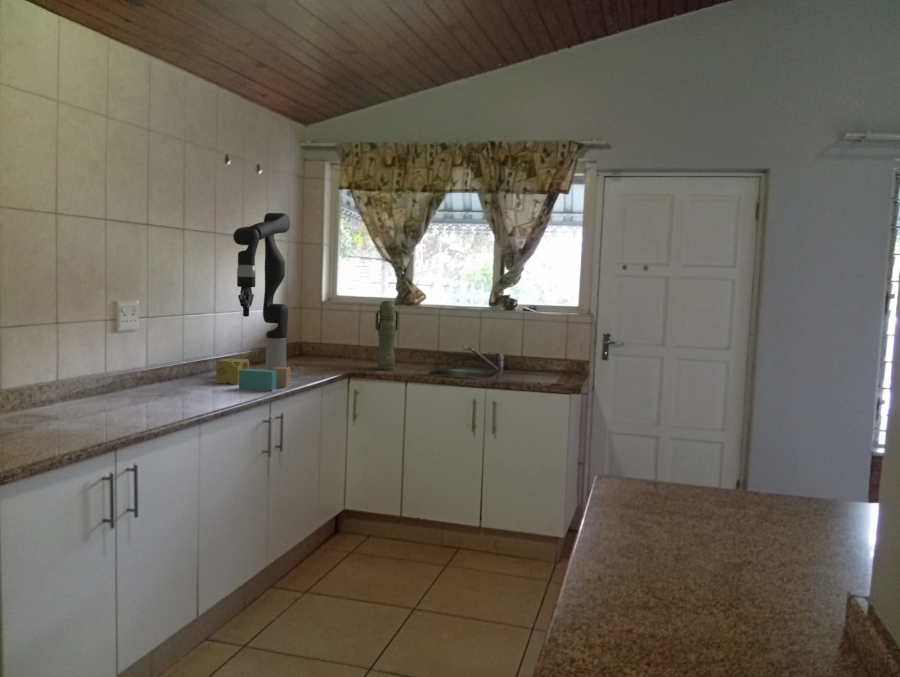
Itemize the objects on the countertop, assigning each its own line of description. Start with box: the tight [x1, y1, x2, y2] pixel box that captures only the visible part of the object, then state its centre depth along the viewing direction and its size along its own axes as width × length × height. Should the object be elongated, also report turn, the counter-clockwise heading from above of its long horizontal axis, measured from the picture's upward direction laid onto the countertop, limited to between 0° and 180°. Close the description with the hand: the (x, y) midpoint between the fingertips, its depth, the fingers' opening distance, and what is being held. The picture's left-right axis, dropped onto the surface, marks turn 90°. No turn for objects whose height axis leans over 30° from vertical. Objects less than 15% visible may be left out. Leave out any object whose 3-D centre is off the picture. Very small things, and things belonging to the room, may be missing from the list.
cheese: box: [215, 358, 250, 385], centre depth 307 cm, size 10×11×10 cm
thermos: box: [374, 300, 399, 371], centre depth 368 cm, size 9×12×35 cm
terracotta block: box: [272, 366, 291, 388], centre depth 301 cm, size 6×6×8 cm
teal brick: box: [238, 368, 277, 391], centre depth 292 cm, size 5×14×8 cm, turn 83°
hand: (246, 316), depth 305 cm, fingers closed
